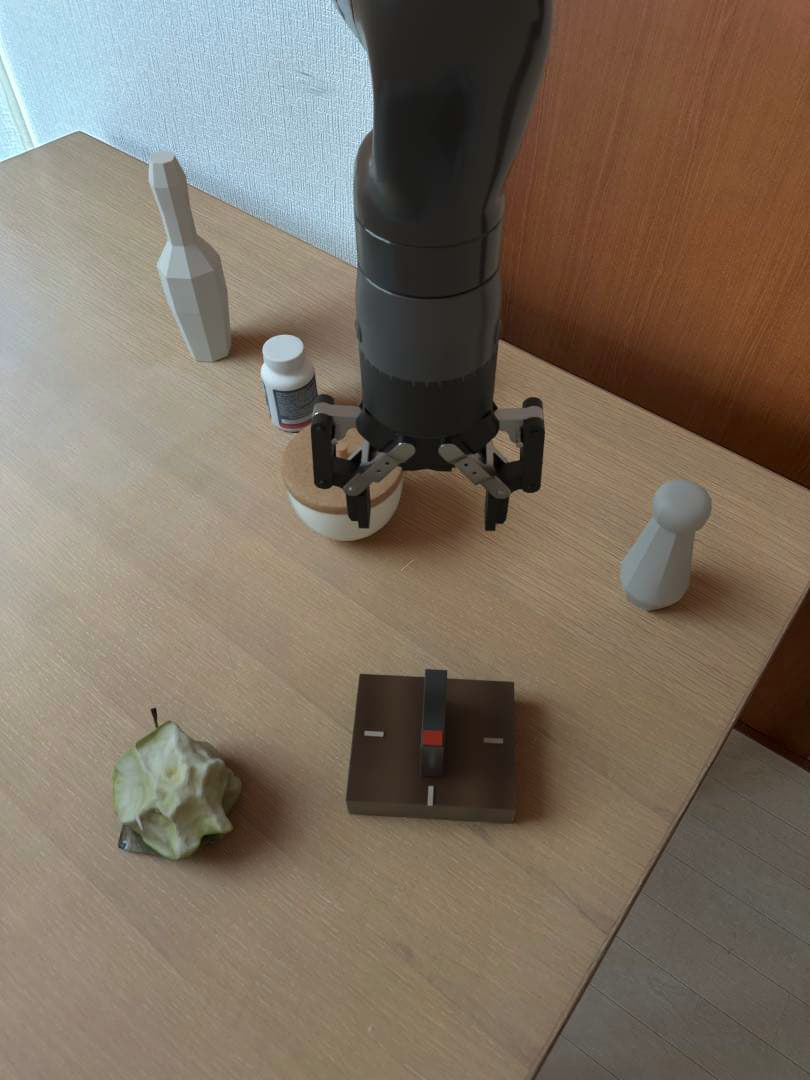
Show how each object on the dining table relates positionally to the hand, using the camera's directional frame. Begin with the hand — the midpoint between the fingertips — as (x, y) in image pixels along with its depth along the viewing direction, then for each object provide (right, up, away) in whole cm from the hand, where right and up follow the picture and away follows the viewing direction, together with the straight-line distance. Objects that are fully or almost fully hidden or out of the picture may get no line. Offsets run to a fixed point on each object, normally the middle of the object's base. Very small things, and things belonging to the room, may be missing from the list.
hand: (426, 520), depth 57 cm
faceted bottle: (-23, +20, +36) cm, 47 cm away
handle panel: (+1, -18, +7) cm, 19 cm away
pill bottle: (-13, +11, +29) cm, 34 cm away
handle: (+1, -16, +4) cm, 17 cm away
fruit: (-18, -21, +5) cm, 28 cm away
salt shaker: (+20, -6, +16) cm, 26 cm away
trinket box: (-7, +1, +21) cm, 22 cm away
